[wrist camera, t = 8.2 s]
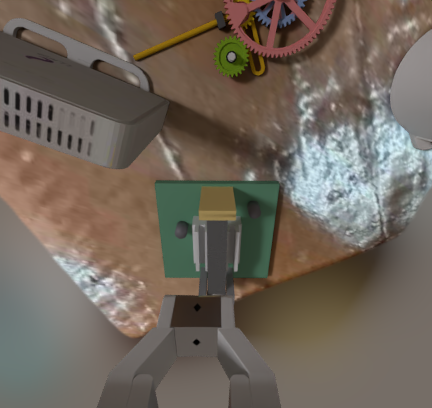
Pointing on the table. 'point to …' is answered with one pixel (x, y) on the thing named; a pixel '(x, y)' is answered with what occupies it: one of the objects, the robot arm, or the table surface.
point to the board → (216, 210)
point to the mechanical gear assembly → (241, 16)
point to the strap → (216, 256)
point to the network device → (74, 100)
